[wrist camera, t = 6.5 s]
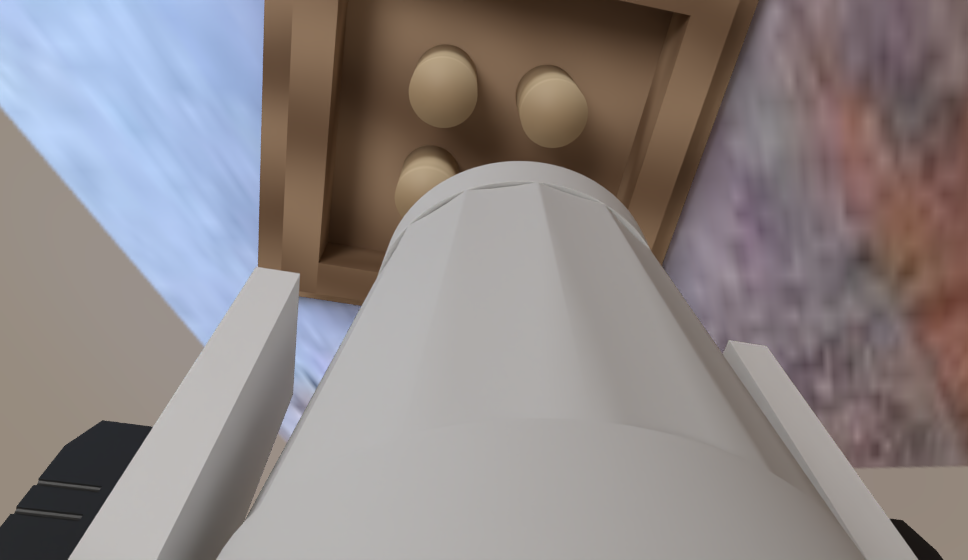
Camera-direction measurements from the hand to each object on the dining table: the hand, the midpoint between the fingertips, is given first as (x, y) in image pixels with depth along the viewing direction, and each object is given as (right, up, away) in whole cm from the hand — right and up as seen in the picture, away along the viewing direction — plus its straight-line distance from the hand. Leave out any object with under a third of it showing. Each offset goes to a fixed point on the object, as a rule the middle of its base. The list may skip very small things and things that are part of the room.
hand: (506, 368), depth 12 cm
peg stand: (0, +8, +15) cm, 17 cm away
